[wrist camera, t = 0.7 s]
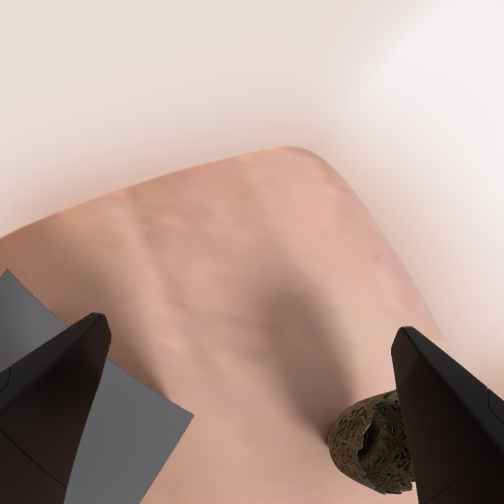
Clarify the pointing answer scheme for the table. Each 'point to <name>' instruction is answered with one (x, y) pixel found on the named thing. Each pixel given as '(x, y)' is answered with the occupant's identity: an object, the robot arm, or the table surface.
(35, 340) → the lid
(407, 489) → the cup
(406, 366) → the robot arm
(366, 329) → the table surface
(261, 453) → the table surface
